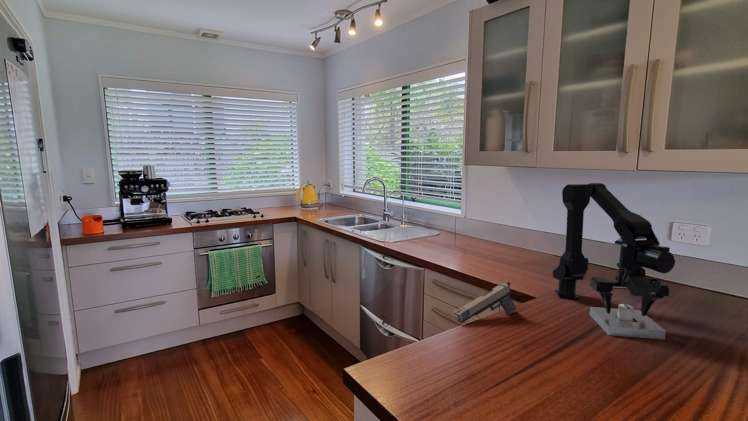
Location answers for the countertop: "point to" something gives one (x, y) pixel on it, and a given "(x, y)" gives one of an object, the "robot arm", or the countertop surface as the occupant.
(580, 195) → the robot arm
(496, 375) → the countertop surface
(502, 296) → the toy gun
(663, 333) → the plate
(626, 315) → the knob
